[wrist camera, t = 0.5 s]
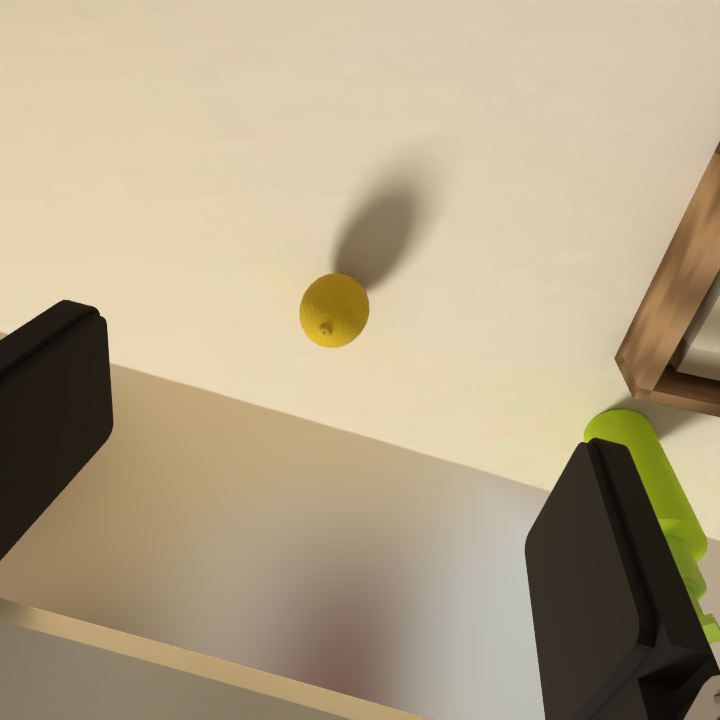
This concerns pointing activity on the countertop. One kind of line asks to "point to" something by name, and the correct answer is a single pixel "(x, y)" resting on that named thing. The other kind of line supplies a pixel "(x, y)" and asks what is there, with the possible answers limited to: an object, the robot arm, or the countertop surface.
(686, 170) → the countertop surface
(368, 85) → the countertop surface
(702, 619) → the soap dispenser
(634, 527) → the robot arm
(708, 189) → the crate
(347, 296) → the lemon
